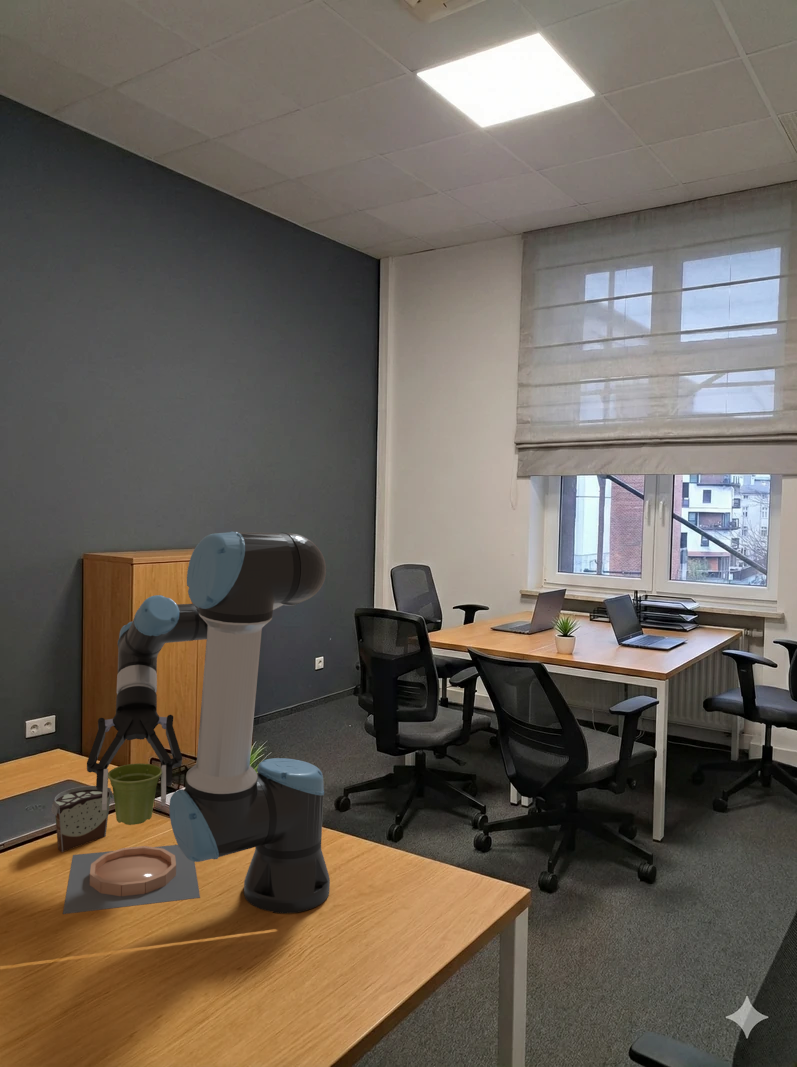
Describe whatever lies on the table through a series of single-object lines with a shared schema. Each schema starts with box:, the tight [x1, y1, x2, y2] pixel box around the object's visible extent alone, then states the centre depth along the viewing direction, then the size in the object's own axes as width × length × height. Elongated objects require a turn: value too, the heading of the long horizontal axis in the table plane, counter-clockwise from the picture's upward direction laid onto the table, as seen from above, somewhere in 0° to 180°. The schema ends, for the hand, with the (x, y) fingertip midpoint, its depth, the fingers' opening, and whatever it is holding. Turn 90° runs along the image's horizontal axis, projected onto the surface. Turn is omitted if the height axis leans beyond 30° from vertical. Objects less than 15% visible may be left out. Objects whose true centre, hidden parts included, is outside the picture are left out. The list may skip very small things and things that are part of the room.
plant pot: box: [108, 762, 162, 826], centre depth 143 cm, size 9×9×9 cm
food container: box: [51, 785, 114, 853], centre depth 157 cm, size 12×6×10 cm, turn 144°
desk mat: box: [62, 844, 201, 915], centre depth 143 cm, size 22×22×1 cm
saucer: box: [90, 845, 176, 896], centre depth 143 cm, size 15×15×2 cm
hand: (134, 804), depth 140 cm, fingers closed on plant pot, 9 cm apart
